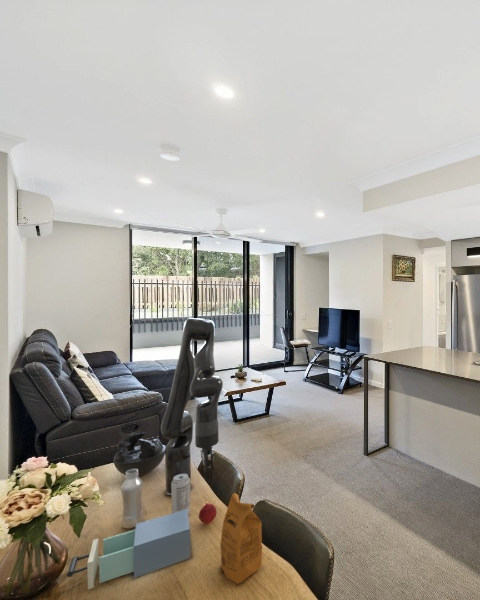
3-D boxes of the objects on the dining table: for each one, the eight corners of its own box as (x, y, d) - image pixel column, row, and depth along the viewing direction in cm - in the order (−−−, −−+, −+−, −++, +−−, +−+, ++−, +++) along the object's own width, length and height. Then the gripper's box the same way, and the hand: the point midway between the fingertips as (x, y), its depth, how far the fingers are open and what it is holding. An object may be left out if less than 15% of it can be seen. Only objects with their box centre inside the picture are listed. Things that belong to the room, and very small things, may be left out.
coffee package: (246, 550, 120) (246, 484, 119) (266, 569, 111) (265, 498, 111) (215, 567, 112) (215, 497, 111) (234, 589, 104) (233, 514, 103)
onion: (220, 520, 135) (220, 499, 135) (207, 530, 130) (207, 508, 129) (208, 517, 137) (208, 496, 137) (195, 526, 132) (195, 504, 131)
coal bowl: (128, 465, 177) (128, 427, 177) (173, 462, 181) (173, 424, 180) (103, 487, 158) (102, 444, 157) (154, 483, 161) (153, 441, 161)
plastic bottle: (132, 532, 128) (131, 476, 128) (116, 529, 130) (115, 474, 129) (148, 521, 135) (147, 468, 134) (133, 518, 136) (132, 466, 135)
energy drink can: (186, 508, 142) (186, 471, 142) (192, 514, 138) (192, 476, 138) (169, 516, 138) (168, 477, 137) (175, 522, 134) (174, 482, 133)
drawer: (65, 597, 100) (64, 570, 100) (73, 571, 109) (72, 545, 109) (145, 569, 110) (145, 544, 110) (146, 547, 119) (146, 524, 119)
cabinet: (134, 578, 108) (133, 546, 108) (136, 552, 118) (135, 523, 118) (190, 558, 116) (190, 528, 116) (187, 535, 126) (187, 508, 126)
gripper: (193, 427, 136) (194, 470, 137) (197, 440, 124) (197, 487, 125) (215, 423, 140) (216, 465, 141) (221, 435, 129) (221, 481, 129)
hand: (207, 475), depth 133 cm, fingers open, 7 cm apart
